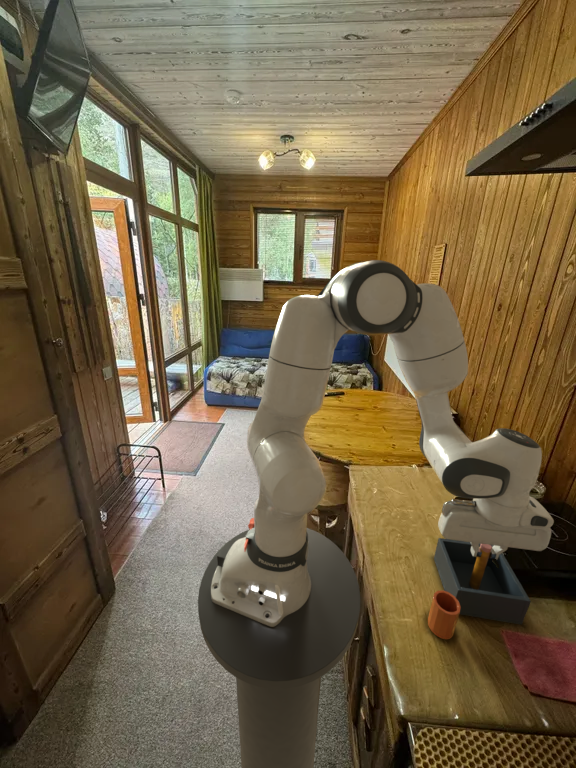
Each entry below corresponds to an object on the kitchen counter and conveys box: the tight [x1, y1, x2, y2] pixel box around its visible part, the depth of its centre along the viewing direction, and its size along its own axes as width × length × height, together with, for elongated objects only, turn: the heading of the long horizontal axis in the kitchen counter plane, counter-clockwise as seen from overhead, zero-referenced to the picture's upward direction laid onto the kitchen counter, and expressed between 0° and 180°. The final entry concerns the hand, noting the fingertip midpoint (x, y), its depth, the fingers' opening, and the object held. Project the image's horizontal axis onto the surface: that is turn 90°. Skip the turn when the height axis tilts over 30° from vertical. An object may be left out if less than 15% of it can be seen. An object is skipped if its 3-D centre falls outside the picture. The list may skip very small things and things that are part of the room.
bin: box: [433, 537, 531, 626], centre depth 69 cm, size 14×14×7 cm
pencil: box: [469, 543, 492, 590], centre depth 68 cm, size 2×2×12 cm
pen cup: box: [427, 589, 461, 640], centre depth 62 cm, size 5×5×7 cm
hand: (483, 555), depth 67 cm, fingers closed on pencil, 2 cm apart
